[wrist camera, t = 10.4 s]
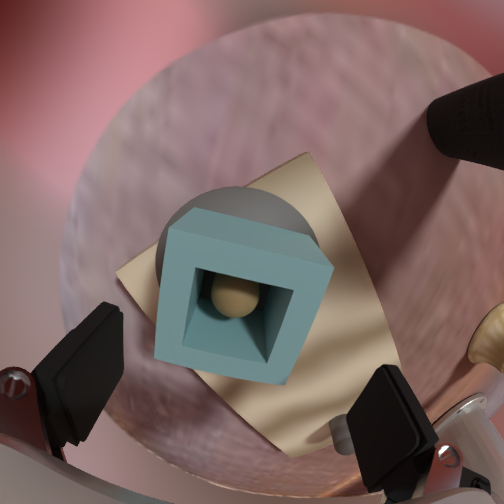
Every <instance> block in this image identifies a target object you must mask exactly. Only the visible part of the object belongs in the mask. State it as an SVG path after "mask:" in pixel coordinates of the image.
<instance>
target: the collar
mask: <svg viewBox="0 0 504 504" xmlns="http://www.w3.org/2000/svg"><path fill="white" fill-rule="evenodd" d="M205 270H209V271H213V272H217V273H222V274H226V275H230V276H234V277H239V278H243V279H247V280H252V281H256V282H260V283H265V284H269V285H271V286H270V290H269V293H268V296H267V299H266V302H265V305H264V309H263V311H260V310H256V309H254V310H253V311H252V312H251V313H249V314H248V315H246V316H244V317H240V318H231V317H227V316H225V315H223V314H221V313H220V312H219V311H218V310H217V309H216V308H215V306H214V304H213V302H212V300H211V299H207V298H203V297H199V296H200V291H201V286H202V281H203V276H204V271H205ZM333 270H334V267H333V265H332V264H331V263H330V261H329V260H328V259H327V257H326V256H325V255H324V254H323V252H322V251H321V250H320V248H319V247H318V246H317V245H316V243H315V242H314V241H313V240H312V238H311V237H310V236H309V235H305V234H302V233H298V232H294V231H290V230H286V229H283V228H279V227H275V226H271V225H267V224H263V223H259V222H255V221H251V220H247V219H243V218H239V217H234V216H230V215H226V214H222V213H218V212H213V211H209V210H205V209H201V208H196V207H194V208H193V209H191V210H190V211H189V212H188V213H186V214H185V215H184V216H183V217H181V218H180V219H179V220H178V221H176V222H175V223H174V224H173V225H171V226H170V227H169V229H168V235H167V241H166V248H165V254H164V261H163V269H162V276H161V284H160V293H159V302H158V312H157V322H156V335H155V349H154V359H158V360H161V361H165V362H168V363H172V364H176V365H180V366H183V367H187V368H191V369H196V370H200V371H204V372H209V373H213V374H218V375H223V376H228V377H233V378H238V379H244V380H250V381H256V382H262V383H269V384H276V385H283V386H285V384H286V382H287V380H288V377H289V375H290V373H291V371H292V369H293V367H294V365H295V362H296V360H297V358H298V356H299V354H300V351H301V349H302V347H303V345H304V342H305V340H306V338H307V335H308V333H309V331H310V328H311V326H312V324H313V321H314V319H315V316H316V314H317V312H318V309H319V307H320V304H321V302H322V299H323V296H324V294H325V291H326V289H327V286H328V283H329V281H330V278H331V275H332V273H333Z"/></svg>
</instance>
